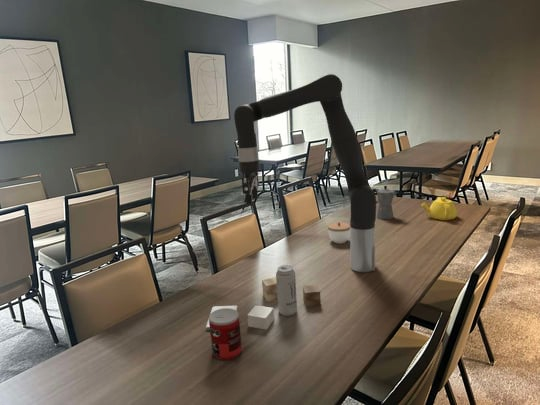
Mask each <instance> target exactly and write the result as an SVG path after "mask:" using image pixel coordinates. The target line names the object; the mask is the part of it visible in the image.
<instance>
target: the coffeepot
mask: <svg viewBox="0 0 540 405" xmlns="http://www.w3.org/2000/svg"><path fill="white" fill-rule="evenodd" d="M372 190H373V191H374V193H376V194H377V195H376V196H377V200H376V204H378V208H377V212H376V219H379V218H380V220H390V219H393V218H394V212H393V211H394V210H393V206H392V203H393V199H394V197H395V196H396V195H398V194H397V191H395V190H393V189H390V188H388V186H387V185H383V189H379V188H372Z"/></svg>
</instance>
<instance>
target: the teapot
mask: <svg viewBox="0 0 540 405" xmlns="http://www.w3.org/2000/svg"><path fill="white" fill-rule="evenodd" d="M421 207H422V208H424V210H425V211H426V212H427V213H428V216H429V217H430V218H431V219H433V218H434V219H433V220H436V219H439V220H438V221H452V220H454V219H455V218H457V216H458V210H457V207H456V205H455V204H454V202H453V201H452V200H450V199H448V198H446V196H445V197H444V196H442V197H440V196H438V197H436V199H435V200H434V201H433V202H432V203H431V204H430V207H429V206H428V204H427V203H426V202H423V203H421ZM451 219H452V220H451Z"/></svg>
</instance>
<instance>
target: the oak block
mask: <svg viewBox="0 0 540 405" xmlns="http://www.w3.org/2000/svg"><path fill="white" fill-rule="evenodd" d="M261 284H262V286H261V287H262V296H263V298H264V299H265V301H266V302H267V303H269V302H273V301H278V299H277V283H276V276H275V277H271V278H265V279H261Z"/></svg>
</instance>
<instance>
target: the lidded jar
mask: <svg viewBox="0 0 540 405" xmlns="http://www.w3.org/2000/svg"><path fill="white" fill-rule="evenodd" d="M327 231H328V232H327V234H328V236H329V238H330V240H331V241H332V242H333V243H334V242H335V244H345V243H346V242H347V241H348V239H350V223H346V222H332V223H329V224H328V225H327Z"/></svg>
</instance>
